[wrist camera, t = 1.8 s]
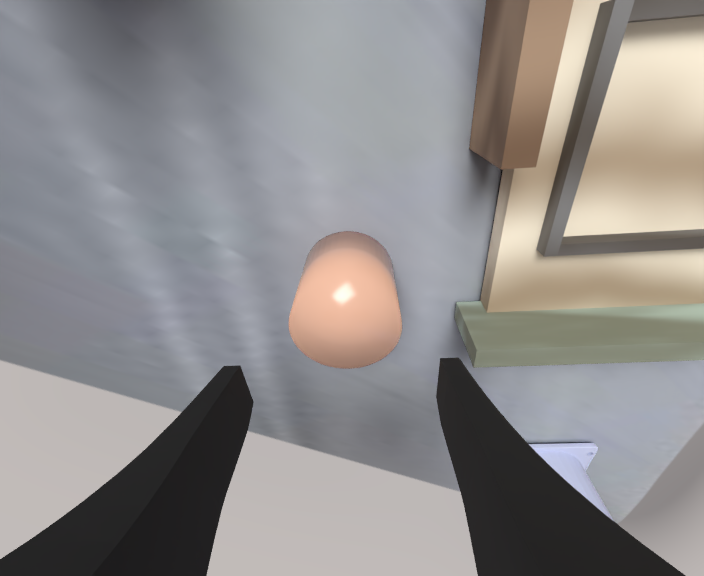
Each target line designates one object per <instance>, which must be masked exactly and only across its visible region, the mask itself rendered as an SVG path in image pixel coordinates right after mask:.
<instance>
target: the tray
mask: <svg viewBox="0 0 704 576" xmlns="http://www.w3.org/2000/svg"><path fill="white" fill-rule="evenodd" d="M455 321H456V324H457V326H458V329H459V331H460V334H461V336H462V339H463V342H464V344H465V347H466V349H467V352H468V354H469V357H470V360H471V362H472V365H473V367H474V368H477V367H507V366H537V365H568V364H598V363H628V362H659V361H689V360H704V0H574V2H573V6H572V10H571V15H570V19H569V24H568V28H567V32H566V37H565V41H564V46H563V50H562V55H561V59H560V63H559V68H558V72H557V77H556V81H555V86H554V90H553V94H552V99H551V103H550V108H549V112H548V117H547V121H546V125H545V130H544V134H543V139H542V143H541V148H540V152H539V156H538V161H537V165H536V167H532V168H517V169H503V172H502V178H501V184H500V189H499V195H498V201H497V207H496V212H495V218H494V224H493V230H492V235H491V241H490V247H489V253H488V259H487V264H486V270H485V276H484V282H483V287H482V293H481V299H480V301H473V302H456V310H455Z"/></svg>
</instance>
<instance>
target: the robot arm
mask: <svg viewBox="0 0 704 576" xmlns="http://www.w3.org/2000/svg"><path fill="white" fill-rule="evenodd" d="M436 398H437V404H438V410H439V415H440V421H441V426H442V429H443V433H444V436H445V440H446V443H447V447H448V450H449V453H450V457H451V460H452V464H453V467H454V471H455V474H456V477H457V481H458V484H459V488H460V491H461V495H462V499H463V503H464V507H465V512H466V516H467V522H468V527H469V532H470V537H471V542H472V547H473V552H474V557H475V563H476V568H477V573H478V576H685V575H684V574H683V573H681V572H680V571H678V570H677V569H676V568H674V567H673V566H672V565H670V564H669V563H667V562H666V561H665V560H664V559H662V558H661V557H659V556H658V555H657V554H655V553H654V552H653V551H651V550H650V549H649V548H647V547H646V546H645V545H643V544H642V543H641V542H639V541H638V540H637V539H635V538H634V537H633V536H631V535H630V534H629V533H628V532H626V531H625V530H624V529H622V528H621V527H620V526H619V525H618V524H616V523H615V522H614V520H613V519H612V517H611V515H610V513H609V512H608V510H607V508H606V506H605V505H604V503H603V501H602V499H601V498H600V496H599V494H598V492H597V491H596V489H595V487H594V485H593V484H592V482H591V480H590V478H589V477H588V475H587V473H586V469H587V468H588V466H589V464H590V463H591V461H592V459H593V457H594V456H595V454H596V452H597V451H598V448H597V446H596V445H595V444H594V443H559V444H528V443H527V442H526V441H525V440H524V439H523V438H522V437H521V436H520V435H519V433H518V432H517V431H516V430H515V429H514V428H513V427H512V426H511V425H510V423H509V422H508V421H507V420H506V419H505V418H504V416H503V415H502V414H501V413H500V412H499V411H498V409H497V408H496V407H495V406H494V404H493V403H492V402H491V401H490V399H489V398H488V397H487V396H486V394H485V393H484V392H483V391H482V389H481V388H480V387H479V385H478V384H477V383H476V381H475V380H474V378H473V377H472V376H471V374H470V373H469V371H468V370H467V369H466V367H465V366H464V364H463V363H462V361H461V360H460V359H459V358H440V367H439V376H438V385H437V395H436ZM252 407H253V399H252V397H251V394H250V391H249V388H248V386H247V383H246V380H245V378H244V375H243V372H242V369H241V367H240V366H224V367H223V368H222V369H221V370H220V371H219V372H218V373H217V374H216V375H215V376H214V378H213V379H212V380H211V381H210V382H209V383H208V384H207V385H206V387H205V388H204V389H203V390H202V391H201V392H200V393H199V394H198V395H197V397H196V398H195V399H194V400H193V401H192V402H191V403H190V404H189V405H188V406H187V407H186V409H185V410H184V411H183V412H182V413H181V414H180V415H179V416H178V417H177V418H176V419H175V420H174V421H173V422H172V424H170V425H169V426H168V427H167V428H166V429H165V430H164V431H163V432H162V433H161V434H160V435H159V436H158V437H157V438H156V439H155V440H154V441H153V442H152V443H151V444H150V445H149V446H148V447H147V448H146V449H145V450H144V451H143V452H142V453H141V454H140V455H139V456H137V457H136V458H135V459H134V460H133V461H132V462H130V463H129V464H128V465H127V466H126V467H125V468H124V469H123V470H121V471H120V472H119V473H118V474H117V475H116V476H114V477H113V478H112V479H110V480H109V481H108V482H107V483H106V484H104V485H103V486H102V487H101V488H99V489H98V490H97V491H95V493H93V494H92V495H91V496H89V497H88V498H87V499H86V500H84V501H83V502H82V503H80V504H79V505H78V506H76V507H75V508H74V509H72V510H71V511H70V512H68V513H67V514H66V515H64V516H63V517H61V518H60V519H59V520H57V521H56V522H55V523H53V524H52V525H50V526H49V527H48V528H46V529H45V530H43V531H42V532H40V533H39V534H38V535H36V536H35V537H33V538H32V539H30V540H29V541H27V542H26V543H24V544H23V545H21V546H20V547H18V548H17V549H15V550H14V551H12V552H11V553H9V554H8V555H6V556H5V557H3V558H2V559H0V576H206V574H207V570H208V566H209V561H210V556H211V552H212V547H213V543H214V539H215V534H216V530H217V526H218V522H219V518H220V514H221V510H222V506H223V503H224V499H225V496H226V493H227V490H228V487H229V484H230V481H231V478H232V475H233V472H234V470H235V466H236V464H237V461H238V458H239V455H240V452H241V449H242V446H243V443H244V440H245V437H246V434H247V431H248V426H249V422H250V417H251V412H252Z"/></svg>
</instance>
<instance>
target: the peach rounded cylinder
mask: <svg viewBox="0 0 704 576" xmlns="http://www.w3.org/2000/svg"><path fill="white" fill-rule="evenodd" d="M289 330H290V334H291V337H292V339H293V341H294V343H295V344H296V346H297V347H298V348H299V349H300V350H301V351H302V352H303V353H304V354H305V355H306V356H308V357H309V358H311V359H312V360H314V361H316V362H318V363H321V364H323V365H326V366H330V367H335V368H348V369H350V368H359V367H364V366H368V365H371V364H373V363H375V362H377V361H379V360H381V359H383V358H384V357H386V356H387V355H388V354H389V353H390V352H391V351H392V350H393V349H394V348H395V346H396V345H397V343H398V341H399V339H400V336H401V332H402V320H401V314H400V308H399V302H398V296H397V290H396V284H395V278H394V272H393V266H392V262H391V259H390V256H389V254H388V252H387V251H386V249H385V248H384V247H383V246H382V245H381V244H380V243H379V242H378V241H377V240H375V239H374V238H372V237H370V236H368V235H365V234H362V233H358V232H351V231H345V232H338V233H334V234H331V235H328V236H326V237H324V238H323V239H321V240H320V241H318V242H317V243H316V244H315V245H314V246H313V248H312V249H311V250H310V252H309V254H308V256H307V259H306V262H305V265H304V269H303V272H302V275H301V279H300V282H299V286H298V289H297V292H296V296H295V299H294V302H293V306H292V309H291V312H290V317H289Z"/></svg>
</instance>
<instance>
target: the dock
mask: <svg viewBox="0 0 704 576" xmlns="http://www.w3.org/2000/svg"><path fill="white" fill-rule="evenodd" d="M573 2H574V0H486V8H485V17H484V26H483V34H482V43H481V52H480V60H479V69H478V78H477V86H476V95H475V104H474V112H473V121H472V130H471V138H470V147H469V149H471V150H472V151H474V152H475V153H477V154H478V155H480V156H481V157H483V158H484V159H486V160H487V161H489V162H490V163H492V164H493V165H495V166H496V167H498V168H499V169H501V170H502V169H517V168H532V167H536V165H537V161H538V156H539V152H540V148H541V143H542V139H543V134H544V130H545V125H546V121H547V117H548V112H549V108H550V103H551V99H552V94H553V90H554V86H555V81H556V77H557V72H558V68H559V63H560V59H561V55H562V50H563V46H564V41H565V37H566V32H567V28H568V24H569V19H570V15H571V10H572V6H573Z"/></svg>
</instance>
